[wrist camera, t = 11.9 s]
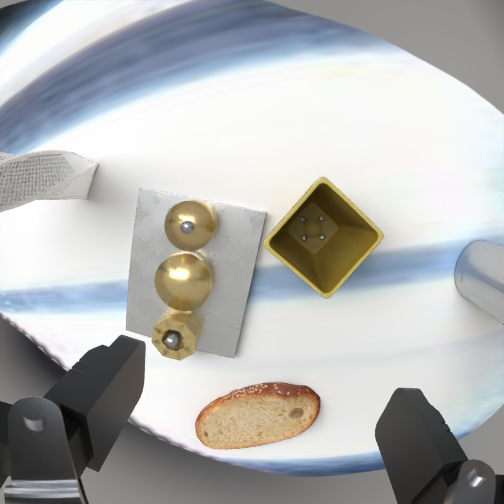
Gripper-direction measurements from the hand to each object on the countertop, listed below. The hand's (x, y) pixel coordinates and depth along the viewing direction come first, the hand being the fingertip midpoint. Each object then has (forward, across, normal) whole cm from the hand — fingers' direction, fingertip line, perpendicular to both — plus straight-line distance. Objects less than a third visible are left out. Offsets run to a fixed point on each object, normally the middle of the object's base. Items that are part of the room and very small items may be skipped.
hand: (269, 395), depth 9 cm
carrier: (+30, +9, +8) cm, 32 cm away
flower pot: (+30, -5, -2) cm, 31 cm away
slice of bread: (+31, -4, +29) cm, 43 cm away
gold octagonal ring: (+29, +9, +15) cm, 34 cm away
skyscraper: (+30, +28, -3) cm, 41 cm away
